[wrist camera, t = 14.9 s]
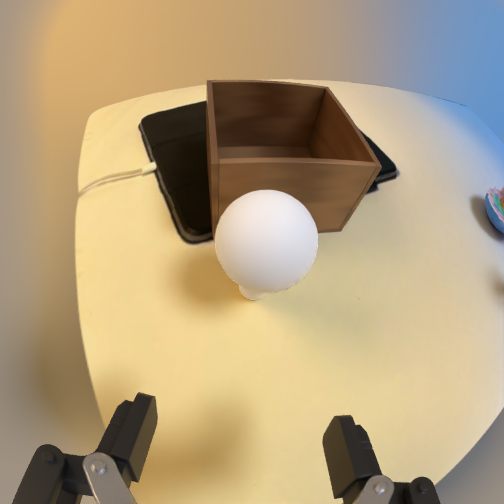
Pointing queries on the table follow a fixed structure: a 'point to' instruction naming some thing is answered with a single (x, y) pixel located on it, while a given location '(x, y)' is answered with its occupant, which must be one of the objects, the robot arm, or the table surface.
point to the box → (286, 148)
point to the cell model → (495, 207)
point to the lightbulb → (266, 242)
